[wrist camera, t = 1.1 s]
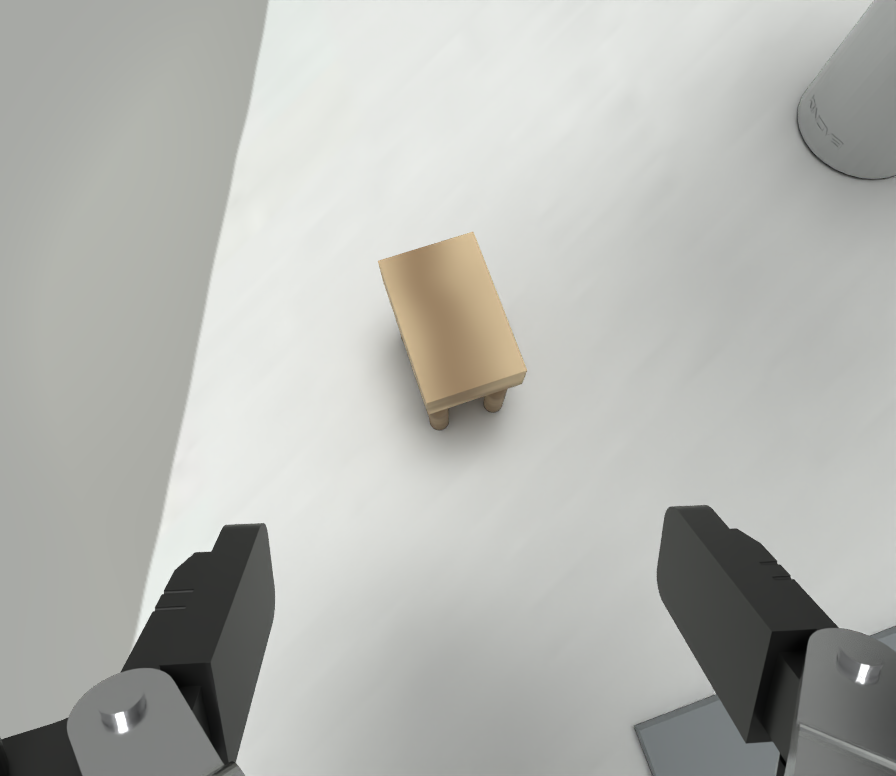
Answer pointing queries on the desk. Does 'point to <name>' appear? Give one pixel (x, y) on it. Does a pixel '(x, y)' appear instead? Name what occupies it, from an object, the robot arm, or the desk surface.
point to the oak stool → (452, 326)
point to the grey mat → (710, 739)
